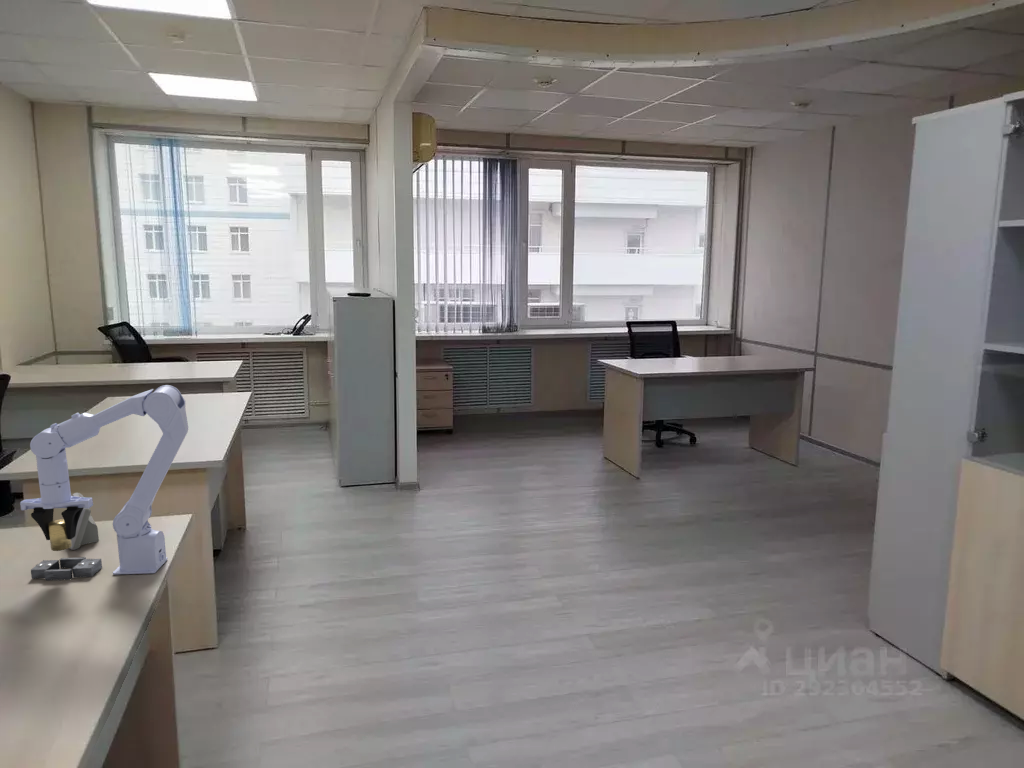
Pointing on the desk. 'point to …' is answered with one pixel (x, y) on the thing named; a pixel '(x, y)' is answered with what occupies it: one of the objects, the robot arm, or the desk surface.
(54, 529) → the link pin
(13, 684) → the desk surface
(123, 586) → the desk surface
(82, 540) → the digital clock
